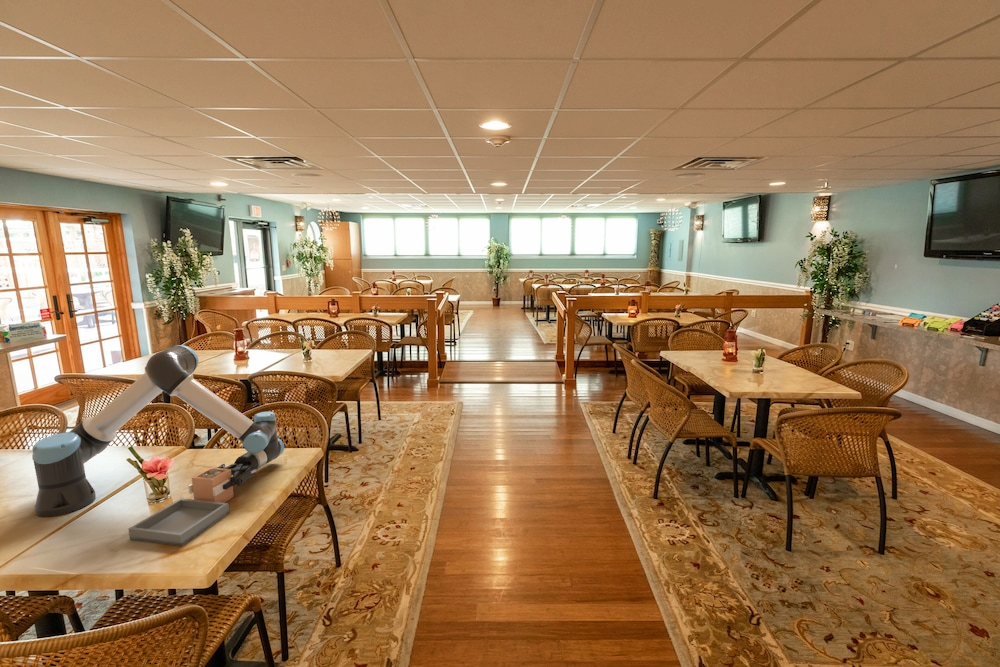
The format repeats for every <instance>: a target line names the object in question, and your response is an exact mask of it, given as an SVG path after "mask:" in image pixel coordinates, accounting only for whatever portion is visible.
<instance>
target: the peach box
mask: <svg viewBox="0 0 1000 667" xmlns="http://www.w3.org/2000/svg"><path fill="white" fill-rule="evenodd" d="M232 476H233V475H232ZM232 476H231V469H223V468H217V467H209V468H206V469H205V470H204V471H202V472H200V473H198V474H196V475H194V476H192V477H191V484H192V486H193V493H192V494H193V500H202V501H212V502H221V503H227V502H228V501H229V500H231V499H232V498H233V497H234V486H231V487H230V488H228V489H226V490H224V491H223V492H221V493H220V494H218V495H216V496H213V488H214V487H215V486H217V485H219V484H220V483H222V482H224V481H225V480H227V479H230V477H232ZM230 481H231V480H230Z"/></svg>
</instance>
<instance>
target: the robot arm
mask: <svg viewBox="0 0 1000 667" xmlns="http://www.w3.org/2000/svg"><path fill="white" fill-rule="evenodd" d="M198 365H199V356H198V353H196V351H195V350H194V349H192V348H191V347H190V346H187V345H183V344H180V345H179V344H177V345H172V346H170V347H169V346H168V347H167V348H166V349H164V350H161V351H158V352H156V353H154V354H152V356H150V358H149V359H148V360H147V363H146V365H145V367H144V374H141V376H139V377H138V378H137V379H136V380H135V381H134V382H133V383H132V384H130V385H129V386H128V387H127V388H126V389H124V390H123V391H122V392H121V393H120V394H118V396H117V397H115V398H114V399H113V400H112V401H111V402H110V403H108V405H106V406H105V407H104V408H103V409H101V410H100V411H98V413H97V414H95V415H94V416H88V417H86V418H84V419H83V420H81V421H80V422H79V423H78V424H77V425H76V426H75V427H73V428H72V429H71V430H70V431H68V432H62V433H61V432H60V433H56V434H53V435H50V436H47V437H44V438H42V439H40V440H38V441H37V442H35V444H34V445H33V446H32V448H31V452H32V455H31V456H32V461H33V463H34V464H33V466H34V469H35V475H36V480H37V487H38V492H37V495H36V500H35V505H34V512H35V513H36V514H35V516H37V515H38V516H37V517H41V516H50V517H55V516H56V515H57V516H62V515H65V513H66V514H68V513H72V511H73V512H75V511H78V510H80V508H81V509H83V508H85V507H87V506H88V504H89V505H91V504H92V503H93V502H94V501H95V500H96V499H97V498H96V496H97V494H96V491H95V489H94V488H93V486H92V485H91V483H90V482H89V480H88V479H87V476H86V470H85V463H87V462H88V461H89V460H91V459H93V458H94V457H96V456H97V455H98V454H100V453H102V452H103V451H104V450H105V449H106V448H107V447H108V446H109V444H110V443H112V442H113V441H114V440H115V439H116V438H117V432H118V431H119V430H120V429H121V428H122V427H123V426H124V425H126V424H127V423H128V422H129V421H130V420H132V419H133V417H135V416H136V415H137V414H138V413H139V412H140V411H142V410H143V409H144V408H145V407H146V406H148V405H149V404H150V403H151V402H152V401H153V400H154V399H156V397H158V396H160V394H161V393H162V392H163V393H165V394H167V395H168V396H170V397H177V398H179V399H180V400H181V401H183V402H185V403H186V404H188V406H190V407H192V408H193V409H194V410H196V411H197V412H199V413H200V414H201V415H203V416H205V417H206V418H207V419H208V420H211V422H212V423H215V424H216V425H218V426H219V427H220V428H222V429H223V430H225V431H226V432H227V433H229V434H230V435H232V436H233V437H234V438H236V439H237V440H239V441H240V442H241V443H242V444H243V448H244V450H245V451H246V453H243V454H242V455H240V456H238V457H237V458H236V459H235V462H233V463H231V464H229V465H226V464H225V463H222V464H220V465H219V466H218V467H216V468H223V469H231V476H232V477H230V479H227V480H225V481H224V482H222V483H220V484H219V485H217V486H215V487H214V488H213V496H216V495H218V494H220V493H221V492H223V491H224V490H226V489H228V488H230V487H231V486H233V487H235V486H238V487H240V486H242V485H243V484H244V483H246V481H247V480H248V479H250V478H251V477H252V476H254V475H256V471H257V470H259V469H260V468H262V467H263V466H265V465H267V464H268V463H270V462H272V461H274V460H276V459H277V458H278V457H280V456H281V455H282V454H283V453H284V450H285V444H284V442H283V440H282V439H280V438H278V429H277V419H276V418H277V417H276V414H275V412H274V411H261V412H258V413H255V414H254V416H253V420H252V419H251V418H249V417H247V416H246V415H244V414H243V413H242V412H240V411H239V410H238V409H236V408H235V407H234V406H232V405H231V404H229V403H228V402H227V401H225V400H224V399H222V398H221V397H220V396H218V395H217V394H215V393H214V392H213V391H211V390H210V388H209V389H208V388H207V387H206V386H204V385H203V384H202V383H200V382H199V380H198V381H197V380H196V379H195V378H194V374H193V373H194V372H195V370H196V369H197V367H198ZM230 480H231V481H230ZM187 489H188V494H189V495H190V494H193V486H192V483H190V484H189V485H188V486H187ZM84 506H85V507H84ZM82 507H83V508H82ZM61 514H62V515H61Z"/></svg>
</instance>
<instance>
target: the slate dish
mask: <svg viewBox="0 0 1000 667" xmlns="http://www.w3.org/2000/svg"><path fill="white" fill-rule="evenodd" d="M229 514H230V506H229V503H228V502H224V503H221V502H212V501H202V500H194V498H193V499H192V498H183V497H181V498H179V499H177V500H176V501H174V502H172V503H170V504H169V505H166V506H165V507H164V508H162V509H159V510H158V511H156V512H155V513H153V514H151V515H150V516H148V517H146V518H145V519H143V520H141V521H139V522H137V523H136V524H134V525H132V526H130V527H129V528H128V535H129V540H130V541H137V542H145V543H152V544H161V545H168V546H175V547H176V546H177V547H183V546H185V545H186V544H187V543H189V542H191V541H192V540H194V539H195V538H196V537H198V536H199V535H200V534H202V533H204V532H205V531H206V530H208V529H209V528H211V527H212V526H214V525H215V524H216V523H218V522H219V521H221V520H222V519H223V518H225V517H226V516H228V515H229Z"/></svg>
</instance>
